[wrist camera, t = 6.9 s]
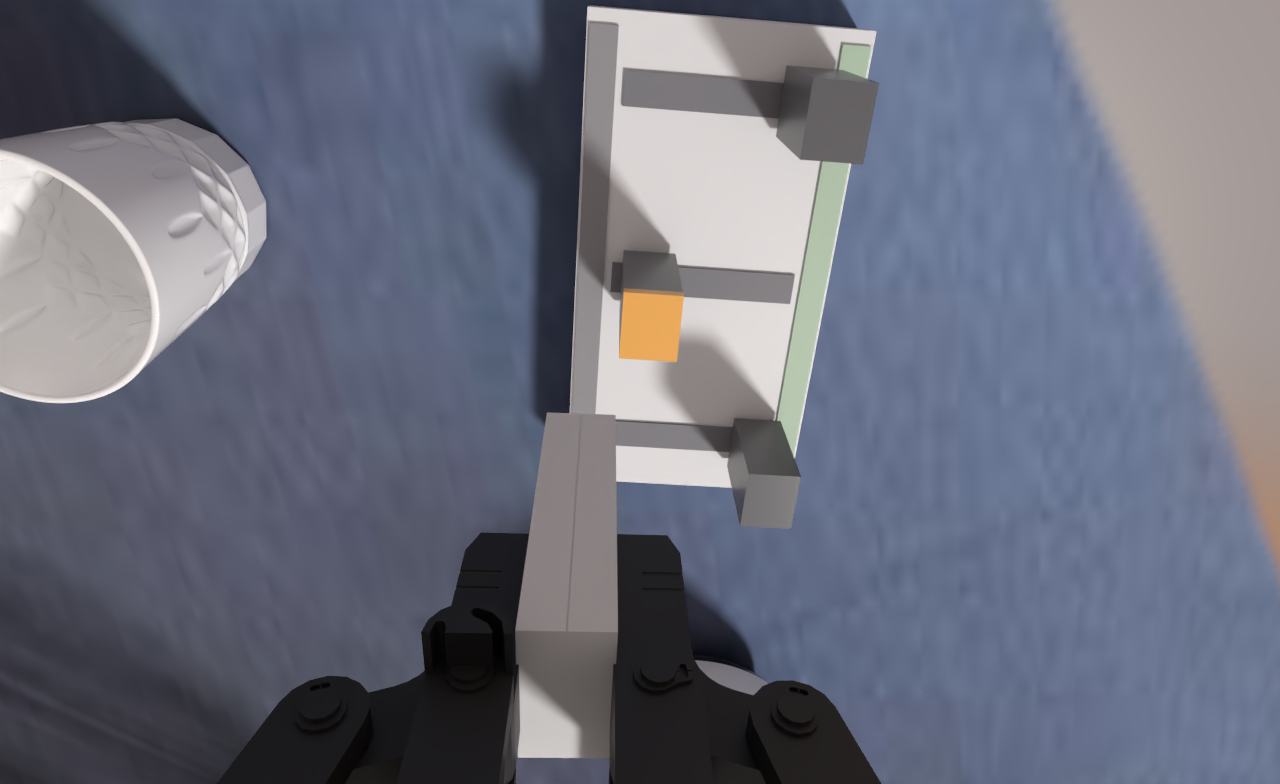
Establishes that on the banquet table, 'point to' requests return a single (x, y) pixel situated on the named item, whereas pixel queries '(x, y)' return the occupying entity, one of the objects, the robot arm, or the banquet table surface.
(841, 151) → the handle
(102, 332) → the white cup
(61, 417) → the banquet table surface
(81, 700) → the banquet table surface
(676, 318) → the handle
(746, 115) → the breaker panel
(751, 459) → the handle
